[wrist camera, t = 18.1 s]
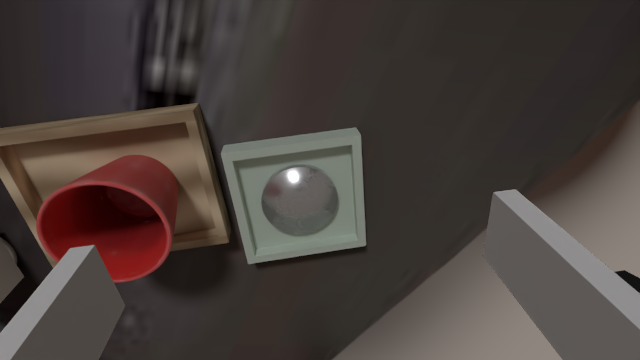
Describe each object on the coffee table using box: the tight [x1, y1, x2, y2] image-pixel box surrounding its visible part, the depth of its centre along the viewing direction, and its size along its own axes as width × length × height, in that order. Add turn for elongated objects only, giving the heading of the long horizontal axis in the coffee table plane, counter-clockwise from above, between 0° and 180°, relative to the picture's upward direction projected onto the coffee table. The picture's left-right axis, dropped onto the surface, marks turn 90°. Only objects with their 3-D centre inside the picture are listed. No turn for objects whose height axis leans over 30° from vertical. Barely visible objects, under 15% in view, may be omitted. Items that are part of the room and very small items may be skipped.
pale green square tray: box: [221, 128, 366, 264], centre depth 42 cm, size 15×15×2 cm
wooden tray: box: [0, 103, 231, 268], centre depth 39 cm, size 16×20×3 cm
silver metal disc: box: [261, 164, 338, 234], centre depth 42 cm, size 9×9×1 cm
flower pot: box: [36, 155, 178, 283], centre depth 35 cm, size 11×11×10 cm
